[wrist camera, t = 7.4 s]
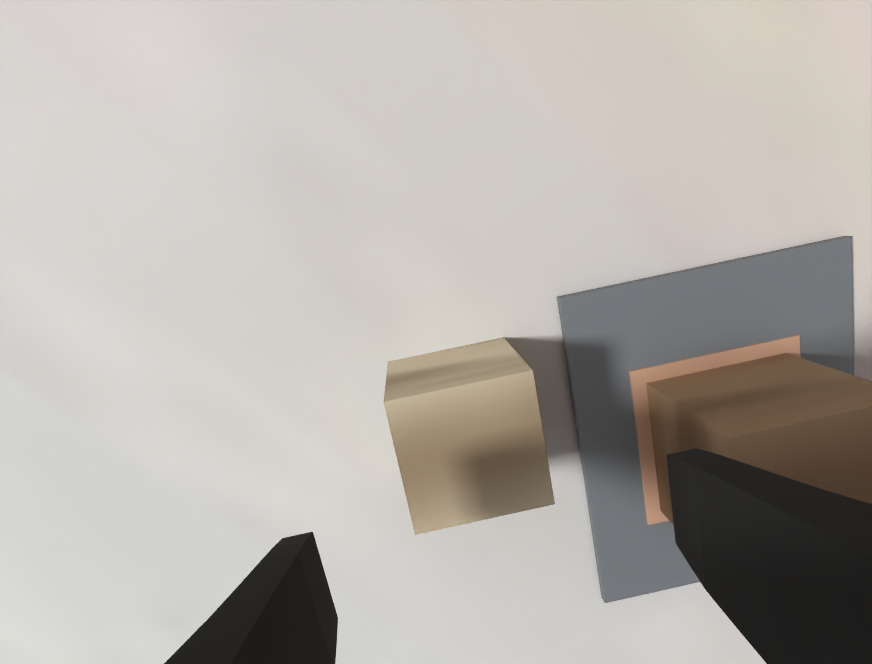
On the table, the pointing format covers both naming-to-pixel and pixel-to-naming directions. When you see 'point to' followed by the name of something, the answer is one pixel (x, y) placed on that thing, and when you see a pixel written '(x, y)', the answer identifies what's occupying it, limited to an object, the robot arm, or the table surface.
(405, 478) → the beech block
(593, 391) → the grey flat slab
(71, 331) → the table surface
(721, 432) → the walnut block
